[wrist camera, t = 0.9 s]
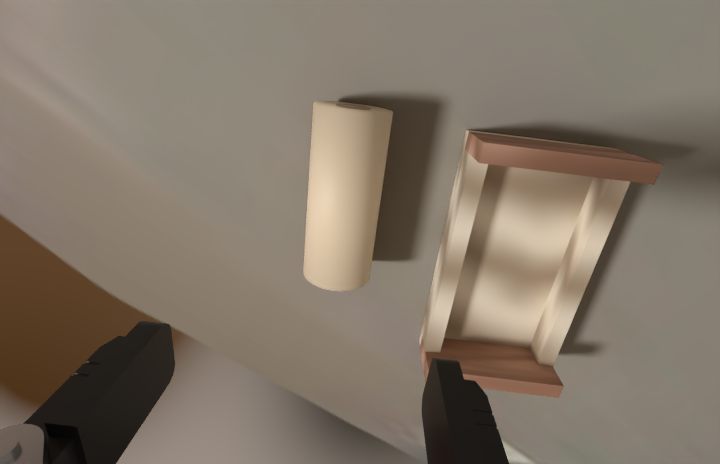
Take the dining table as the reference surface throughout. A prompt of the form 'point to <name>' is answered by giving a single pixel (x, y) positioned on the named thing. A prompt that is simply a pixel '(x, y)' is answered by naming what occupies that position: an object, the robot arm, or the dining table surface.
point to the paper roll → (344, 192)
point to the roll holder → (521, 254)
